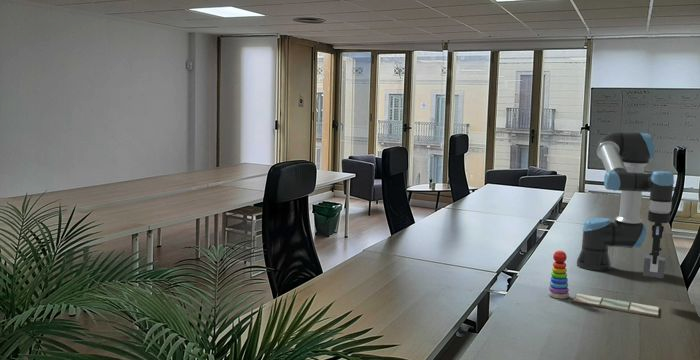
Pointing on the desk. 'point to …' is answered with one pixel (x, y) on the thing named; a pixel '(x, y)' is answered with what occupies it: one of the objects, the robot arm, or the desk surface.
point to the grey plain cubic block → (660, 267)
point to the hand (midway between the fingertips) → (653, 269)
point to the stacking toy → (559, 277)
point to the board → (616, 305)
